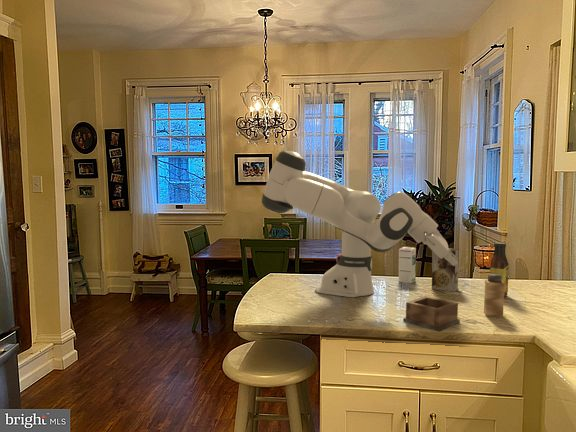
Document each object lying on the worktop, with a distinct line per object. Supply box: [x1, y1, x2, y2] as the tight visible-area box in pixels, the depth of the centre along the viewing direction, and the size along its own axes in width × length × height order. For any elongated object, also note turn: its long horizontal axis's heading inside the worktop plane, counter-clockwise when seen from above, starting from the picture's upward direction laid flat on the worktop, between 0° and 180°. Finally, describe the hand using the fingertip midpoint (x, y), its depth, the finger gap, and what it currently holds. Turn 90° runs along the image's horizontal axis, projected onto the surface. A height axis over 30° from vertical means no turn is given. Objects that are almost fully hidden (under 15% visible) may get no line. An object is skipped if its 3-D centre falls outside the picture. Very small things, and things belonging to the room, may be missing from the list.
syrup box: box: [398, 246, 417, 284], centre depth 189 cm, size 6×6×14 cm
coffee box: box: [431, 247, 460, 292], centre depth 176 cm, size 9×6×16 cm
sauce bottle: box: [489, 242, 510, 298], centre depth 167 cm, size 7×6×20 cm
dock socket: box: [403, 295, 461, 332], centre depth 136 cm, size 12×12×6 cm
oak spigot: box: [483, 273, 505, 319], centre depth 143 cm, size 5×5×13 cm
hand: (455, 261), depth 146 cm, fingers open, 8 cm apart
